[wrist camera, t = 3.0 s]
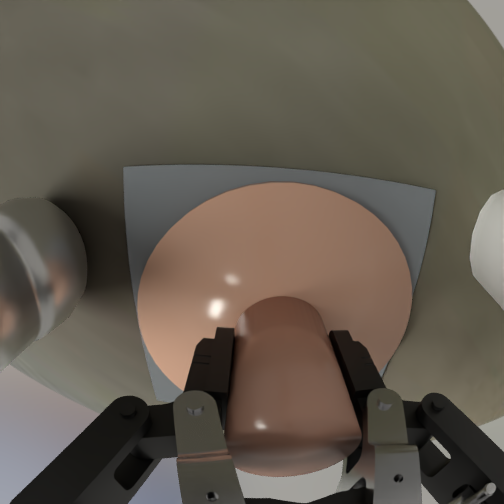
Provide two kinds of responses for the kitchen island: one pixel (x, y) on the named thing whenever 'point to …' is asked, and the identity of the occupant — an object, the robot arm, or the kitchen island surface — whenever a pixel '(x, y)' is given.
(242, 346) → the lid
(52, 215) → the plastic bottle
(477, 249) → the foam cup
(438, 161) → the kitchen island surface
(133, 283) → the mat
